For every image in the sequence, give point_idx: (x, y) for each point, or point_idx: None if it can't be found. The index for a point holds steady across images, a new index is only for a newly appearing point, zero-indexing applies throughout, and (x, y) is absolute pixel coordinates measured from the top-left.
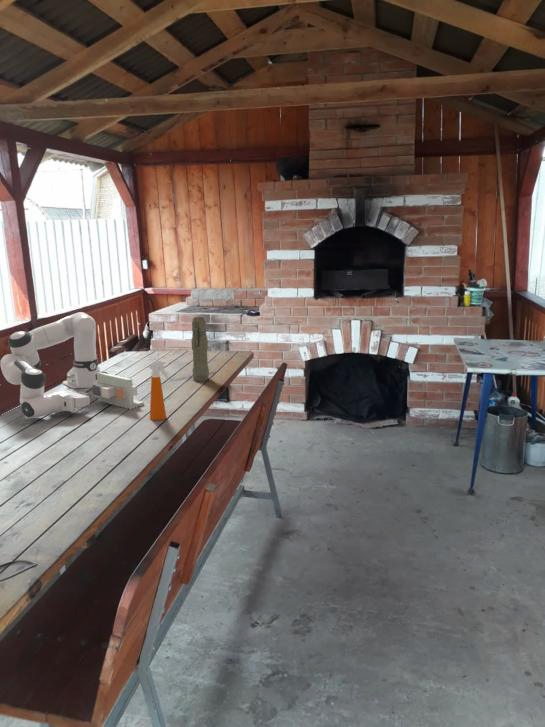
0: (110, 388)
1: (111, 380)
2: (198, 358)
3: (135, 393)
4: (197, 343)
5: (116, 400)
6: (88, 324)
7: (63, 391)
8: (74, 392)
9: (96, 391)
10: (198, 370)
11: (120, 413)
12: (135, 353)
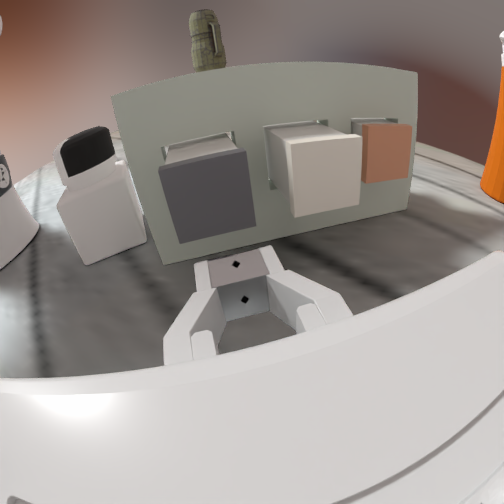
0: (343, 133)
1: (284, 90)
2: None
3: None
4: (222, 49)
5: None
6: None
7: (8, 446)
8: (192, 367)
9: (224, 201)
10: None
11: (456, 243)
12: (20, 181)
